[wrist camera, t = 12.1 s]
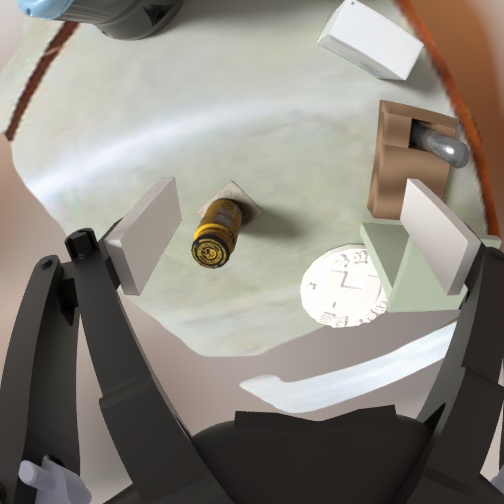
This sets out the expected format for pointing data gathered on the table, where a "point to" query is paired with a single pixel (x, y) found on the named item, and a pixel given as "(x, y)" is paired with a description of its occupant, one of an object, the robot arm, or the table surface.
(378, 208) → the socket block
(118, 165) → the table surface
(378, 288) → the white round plaque
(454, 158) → the peg
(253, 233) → the table surface
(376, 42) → the skincare box
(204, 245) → the condiment
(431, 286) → the pale green angled bracket
